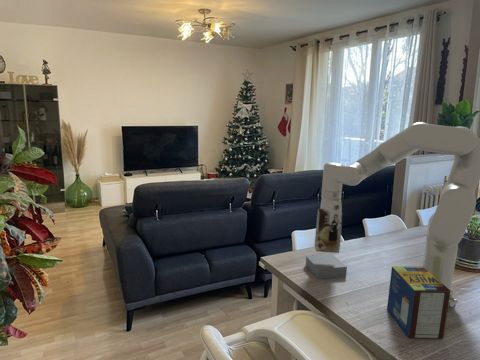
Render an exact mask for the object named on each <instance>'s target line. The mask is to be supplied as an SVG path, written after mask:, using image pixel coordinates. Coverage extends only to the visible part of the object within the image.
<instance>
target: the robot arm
mask: <svg viewBox="0 0 480 360" xmlns="http://www.w3.org/2000/svg"><path fill="white" fill-rule="evenodd" d="M418 151H424V152H431V153H436V154H437V153H438V154H443V155H444V154H445V155H451V156H453V157H454V159H453V163H452V166H451V168H450V172H449V175H448V177H447V179H446V182H445V184H444V186H443V188H441V189H442V190H441V191H440V194H439V195H440V196H439V201H438V204H437V207H436V209H435V211H434V213H432V214H431V216H430V217H429V219H428V222H427V230H426V241H425V246H424V252H423V260H422V266H421V267H424V268H425V269H426V270H427V271H428V272H430V273H431V274H432V275H433V276H434V277H435V278H437V279H438V280H439V281H440V282H441V283H442V284H443V285H445V286H446V287H447V288H448V289H449V290H450V298H449V304H448V307H451V308H453V307H455V305H456V304H457V303H458V301H459V300H458V299H457V298H456V297H454V295H453V294H454V291H453V290H452V284H453V280H454V272H455V266H456V260H457V255H458V249H459V247H458V246H459V243H460V242H461V241H462V239H463V237H464V236H465V233H466V230H467V228H468V226H469V224H470V221H471V220H472V217H473V214H474V212H475V210H476V205H477V198H476V195H475V194H476V190H477V187H478V185H479V183H480V138H479V137H478V135H477V134H476V133H475V132H474V131H473V130H471V129H470V128H469V127H467V126H450V125H449V126H448V125H439V124H432V123H428V122H424V121H417V122H414V123H413V124H411V125H409V126H408V127H406V128H405V129H403V130H401V131H400V132H398V133H396V134H395V135H393V136H392V137H389V138H388V139H387V140H385V141H384V142H382V143H380V144H379V145H378V146H377V147H376V148H375V149H373V150H372V151H370V152H368V153H367V154H365V155H364V156H363V157H361V158H359V159H357V160H356V161H354V162H353V163H350V164H348V165H343V164H342V163H339V162H332V161H331V162H330V161H329V162H326V163H324V165H323V171H322V172H323V173H322V181H321V182H322V186H321V196H320V197H321V200H320V207H319V209H321V210H323V211H324V212H326V213H327V223H328V224H329V225H330V230H331V231H329V241H337V233H338V231H339V228H340V226H341V216H342V214H343V212H342V211H343V209H342V208H343V207H342V191H343V185H347V186H350V187H351V186H357V185H359V184H360V183H361V182H362V181H363V180H366V178H369V177H370V176H371V175H374V174H375V173H377V172H378V171H379V172H380V171H381V170H382V169H385V168H387V167H390V166H391V167H392V166H393V165H396V164H397V163H399V162H401V161H402V160H404V159H406V158H408V157H409V156H411V155H413V154H414V153H416V152H418ZM333 220H335V223H332V222H333ZM332 225H335V226H334V227H333V226H332Z"/></svg>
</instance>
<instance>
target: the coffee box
mask: <svg viewBox="0 0 480 360" xmlns="http://www.w3.org/2000/svg"><path fill="white" fill-rule="evenodd" d="M343 217H344V214H343V213H342V216H341V226H340V228H339V231H338V233H337V241H329V231H331V230H330V225H329V224H328V223H327V213H326V212H324V211H323V210H321V209H320V208H317V214H316V224H315V225H316V226H315V237H314V249H315V252H321V253H331V254H332V253H333V254H340V249H341V247H340V246H341V239H342V237H341V236H342V228H343V227H342V225H343ZM332 223H335V220H333V222H332ZM332 226H333V227H334V226H335V225H332Z"/></svg>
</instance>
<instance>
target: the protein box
mask: <svg viewBox="0 0 480 360" xmlns="http://www.w3.org/2000/svg"><path fill="white" fill-rule="evenodd" d="M390 272H391V273H390V280H389V281H390V282H389V287H388V288H389V290H388V296H387V297H388V299H387V305H386V309H387V311H388V312H389V314H390V316H392V318H393V319H394V321H395V322H396V324H397V325H398V326H399V327H400V329H401V331H402V332H403V333H404V334H405V336H406V337H407V338H408V339H423V340H425V339H426V340H427V339H428V340H430V339H432V340H434V339H435V340H436V339H437V340H441V339H442V340H444V338H445V337H444V335H445V329H446V322H447V315H448V312H449V311H448V310H449V306H448V304H449V298H450V290H449V289H448V288H447V287H446V286H445V285H443V284H442V283H441V282H440V281H439V280H438V279H437V278H435V277H434V276H433V275H432V274H431V273H430V272H428V271H427V270H426V269H425V268H424V267H422V266H404V265H403V266H398V265H392V266H391V271H390Z"/></svg>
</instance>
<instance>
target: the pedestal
mask: <svg viewBox="0 0 480 360" xmlns="http://www.w3.org/2000/svg"><path fill="white" fill-rule="evenodd" d="M305 266H306V267H307V268H308V269H309V271H310V272H311V273H312V274H313V275H314V276H315V278H316V279H329V278H344V277H347V270H348V267H347V266H346V264H344V263H343V262H342V261H341V260H340V259H339V258H337V257H336V256H335V255H334V253H333V254H332V253H331V254H322V255H321V254H319V255H307V256H306V257H305Z"/></svg>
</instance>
